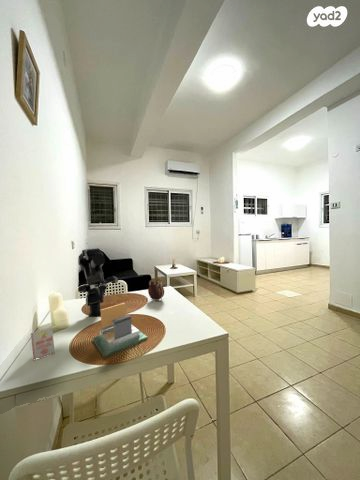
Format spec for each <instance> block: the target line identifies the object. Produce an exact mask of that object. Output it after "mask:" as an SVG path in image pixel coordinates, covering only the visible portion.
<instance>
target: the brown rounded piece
mask: <svg viewBox="0 0 360 480" xmlns="http://www.w3.org/2000/svg"><path fill="white" fill-rule="evenodd" d="M153 279H155V280H158V281H155V280H153ZM147 291H148V296H149V297H150V299H151V300H153V301H158V302H160V300H163V299H162V298H163V297H164V295H165V287H164V286H163V282H162V281H161V280H160V279H159V278H158V277H153V278H151V280H149V282H148V289H147Z"/></svg>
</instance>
